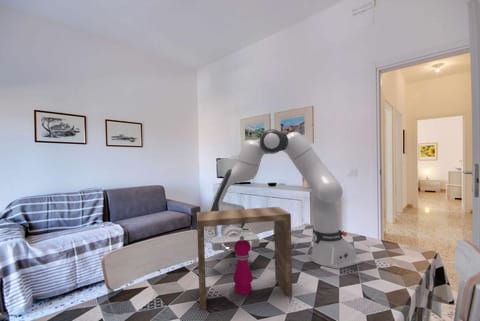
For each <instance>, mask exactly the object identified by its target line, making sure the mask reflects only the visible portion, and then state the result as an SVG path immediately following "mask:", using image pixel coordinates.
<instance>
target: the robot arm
mask: <svg viewBox="0 0 480 321" xmlns="http://www.w3.org/2000/svg"><path fill="white" fill-rule="evenodd" d="M281 151H282V152H284V153H285V154H286V155H287V156H288V158H289V159H290V160H291V162H292V163H293V165H294V166H295V167H296V169H297V171H298V172H299V174H301V176H302V177H303V179H304V180H305V181H306V183H307V184H308V186H309V187H310V189H311V201H312V202H311V203H312V212H313V228H312V241H313V242H312V243H313V244H312V250H311V255H310V260H311V261H312V262H313V263H315V264H317V265H321V266H323V267H329V268H333V269H336V270H337V269H339V270H340V269H343V268H347V267H350V266H354V265H358V264H362V263H363V260H362V258H361V257H360V256H359V255H357V252H356V249H355V246H353V245H352V243H351V242H349V241H348V240H346V239H345V237H347V236H348V232H346V231H343V230H340V227H339V226H340V225H339V224H340V223H339V222H340V220H339V216H340V214H339V209H338V205H337V204H338V203H337V202H338V201H340V199H341V198H342V196H343V188H342V186H341V183H340V182H339V181H338V180H337V178H336V177H335V176H334V175H333V173H332V172H331V171H330V170H329V168H328V167H327V166H326V165H325V164H324V163H323V161H322V160H321V158H320V157H319V155H318V154H317V153H316V151H315V150H314V149H313V147H312V145H311V144H310V143H309V142H308V140H307V139H306V138H305V137H304V136H302V134H301V133H300V132H298V131H292V132H290V133H288V134H286V133H283V132H281V131H279V130H276V129H267V130H265V131H264V132H263V133H262V134H261V136H260V137H259V140H254V139H253V140H252V139H248V140H246V141H244V143H243V144H242V147H241V149H240V151H239V153H238V157H237V159H236V163H235V165H234V166H233V167H232V168H231V169H228V170H227V171H226V173H225V174H224V176H223V177H222V181H221V182H220V184H219V187H218V188H217V191H216V193H215V194H214V197H213V199H212V201H211V202H210V204H209V206H208V209H207V212H210V211H224V210H239V209H245V207H244V206H243V205H240V204H235V203H231V202H226V201H224V199H225V197H226V194H227V192H228V190H229V188H230V187H231V186H232V185H234V184H236V183H237V184H238V183H245V182H249V181H251V180H253V179H254V178H255V177H256V176H257V174H258V171H259V169H260V165H261V162H262V158H263V157H264V155H268V154H269V155H274V154H275V155H276V154H277V153H279V152H281ZM245 224H246V223H243V224H231V225H220V236H214V237H212V238H211V239H210V241H209V242H210V244H211V250H212V251H213V252H216V251H224V253H229V252H230V250H234V245H235V243H236V242H237V241H238V240H240V237H241V236H243V237H244V240H246V241H248V242H249V244H250V251H251V250H253V248H256V247H259V246H260V237H259V236H258V235H257V234H256V233H255V232H254V231H253V230H252V229H250V228H244V227H245Z"/></svg>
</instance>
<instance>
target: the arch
mask: <svg viewBox="0 0 480 321" xmlns="http://www.w3.org/2000/svg"><path fill="white" fill-rule="evenodd" d="M266 222H274V223H273V229H274V230H273V232H274V272H275V273H274V275H275V276H274V277H275V278H274V279H275V281H276V283H277V284H278V286H279V287H280V289H281V290H282V293H284V295H285V296H286V297H288V298H289V297H293V271H292V270H293V264H292V262H293V261H292V259H293V258H292V256H293V255H292V254H293V253H292V216H291V213H290V212H288V211H287V210H285V209H283V208H282V207H280V206H272V207H259V208H258V207H256V208H254V207H253V208H244V209H239V210H224V211H210V212H208V211H198V212H196V225H197V226H196V227H197V228H196V230H197V232H196V233H197V258H198V259H197V263H198V293H199V294H198V295H199V310H204V309H205V310H206V309H207V294H206V293H207V290H206V289H207V287H206V282H207V281H206V258H205V257H206V256H205V253H206V251H205V248H206V247H205V227H216V226H221V225H231V224H243V223H245V224H255V223H266Z"/></svg>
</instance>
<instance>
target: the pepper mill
mask: <svg viewBox="0 0 480 321" xmlns="http://www.w3.org/2000/svg"><path fill="white" fill-rule="evenodd" d="M233 250H234V252H235V259H236V263H237V264H236V266H235V267H236V268H235V270H234V273H233V276H232V280H233V282H234V291H235V293H237V294H239V295H247V294H249V293H251V292H252V291H253V290H252V283H253V280H254V279H253V273H252V272H253V271H251V269H250V268H251V267H250V265H249V258H250V253H249V252H250V251H251V250H250V244H249V242H248V241H246V240H244V237H243V236H241V237H240V240H238V241H237V242H236V243H235V245H234V249H233Z"/></svg>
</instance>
